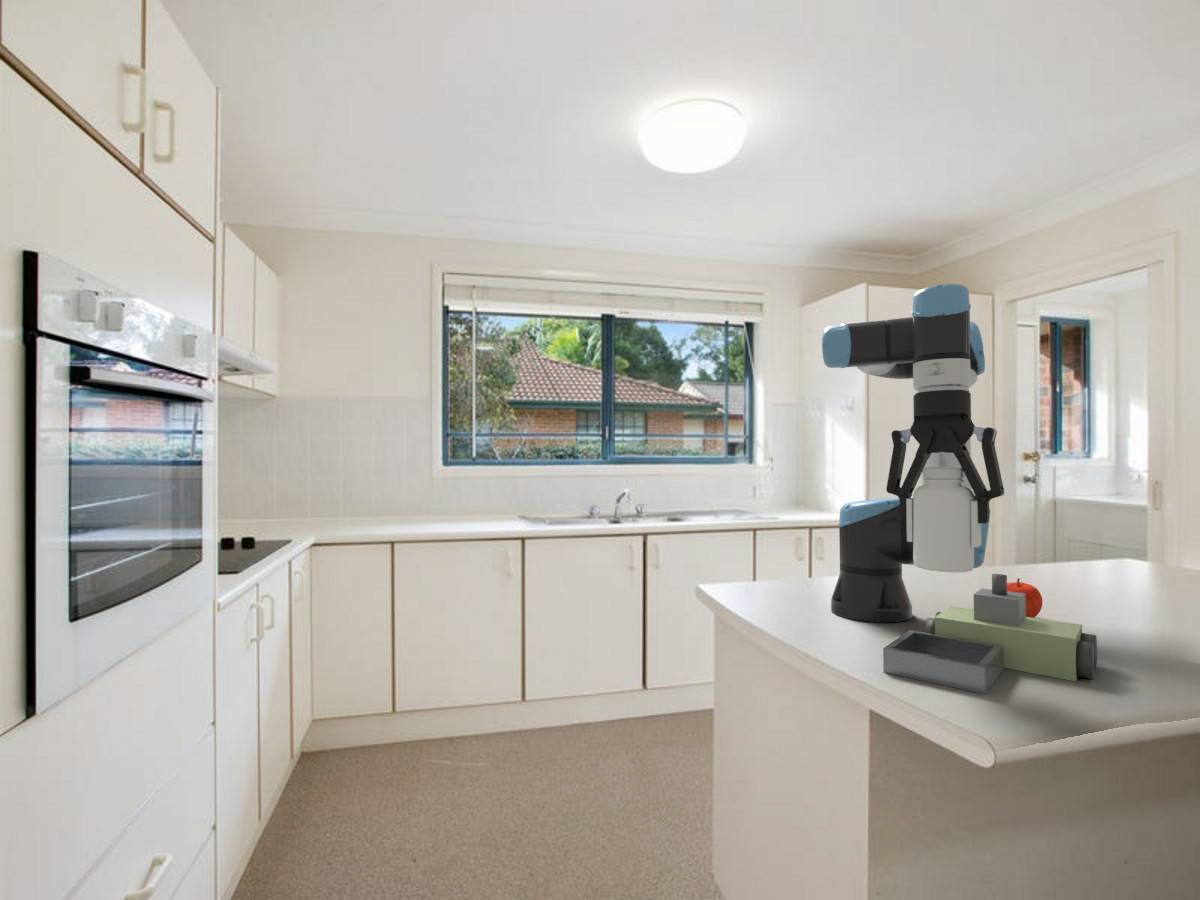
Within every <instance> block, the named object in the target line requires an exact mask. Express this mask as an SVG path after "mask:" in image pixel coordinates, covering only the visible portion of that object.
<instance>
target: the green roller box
mask: <svg viewBox="0 0 1200 900" xmlns="http://www.w3.org/2000/svg"><path fill="white" fill-rule="evenodd" d="M1007 583H1008V575H1006V574H1003V573H992V574H991V589H989V588H981V589H979V590H978V591H976V592H974V593H973V609H972V608H968V607H967V608H966V607H959V606H953V605H950V606H948V608H946V609H944V610H943V611H937V612H936V613H935V615H934V618H933V617H928V618H927V620H926V622H925V625H924V626H925V627H924V633H929V634H935V635H941V636H947V637H953V638H959V639H965V640H971V641H976V642H982V643H988V644H994V645H1000V646H1003V656H1004V668H1005V669H1009V670H1015V671H1019V672H1023V673H1024V672H1025V673H1030V674H1035V675H1040V676H1045V677H1051V678H1056V679H1060V680H1067V681H1072V682H1077V680H1078V677H1079V678H1084V679H1089V680H1094V674H1095V670H1097V665H1098V637H1097V635H1096V634H1092V633H1086V632H1085V633H1084V632H1083V624H1080V623H1073V622H1065V621H1059V620H1052V619H1044V618H1037V617H1034V618H1031V617H1026V606H1025V593H1017V592H1008V591H1007Z"/></svg>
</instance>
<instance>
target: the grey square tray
mask: <svg viewBox="0 0 1200 900" xmlns="http://www.w3.org/2000/svg"><path fill="white" fill-rule="evenodd" d="M882 654H883V655H882V657H883V658H882V662H883V664H882V665H883V667H882V669H883V671H882V672H883V673H887V674H891V675H895V676H899V677H905V678H910V679H914V680H918V681H923V682H927V683H931V684H935V685H941V686H946V687H950V688H955V689H960V690H965V691H969V692H973V693H978V694H982V695H986V694H987V692H988V691H989V690H990V689H991V687H992V685H994V683H995V682H996V680H997V679H998V678H999V676H1000V675H1001V674H1002V672H1003V671H1004V670H1005V669H1004V656H1003V646H1000V645H994V644H988V643H982V642H976V641H971V640H965V639H959V638H953V637H947V636H941V635H935V634H929V633H925V631H924V632H923V631H918V630H917V631H916V630H912V629H909V630H908V631H907V632H905V633H903V634H901V636H899V637H898V638H896V639H895V640H893V641H892V642H890V643H888V644H887V645H885V646H884V647H883V649H882Z"/></svg>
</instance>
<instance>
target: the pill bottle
mask: <svg viewBox="0 0 1200 900" xmlns="http://www.w3.org/2000/svg"><path fill="white" fill-rule="evenodd" d="M923 477H924V478H925V479H923ZM962 478H963V469H962V468H923V471H922V482H923V481H925V485H923V484H921V485H919V486H918V487H915V489H914V490H913V493H912V498H913V561H914V565H913V566H915V567H917V568H919V569H923V570H927V571H932V572H933V571H934V572H940V573H942V572H943V573H969V572H971V571H973V570H974V568H973V567H974V547H971V501H974V495H973V492H974V491H973V490H972V491H973V492H972V491H971V490H970V489H969V488H967V487H965V486H962V485H961V482H964V480H961V479H962Z"/></svg>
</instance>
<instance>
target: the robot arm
mask: <svg viewBox="0 0 1200 900" xmlns="http://www.w3.org/2000/svg"><path fill="white" fill-rule="evenodd" d="M971 307H972V306H971V302H970V292H969V289H968V287H967V286H965V285H962V284H958V283H943V284H937V285H936V284H935V285H931V286H926V287H924V288H920V289H918V290H917V291H916V292H914V295H913V297H912V310H911V317H909V316H908V317H900V318H893V319H892V318H891V319H886V320H885V319H883V320H875V321H874V320H872V321H862V322H854V323H851V322H850V323H840V324H835V325H829V326H827V327H825V328H824V331H823V333H822V337H821V338H822V339H821V351H822V359H823V363H824V365H825V366H826V367H827V368H830V369H831V368H833V369H835V368H839V369H845V368H846V369H847V368H855V367H857V369H858V370H859V371H861V372H862V373H864V374H866V375H868V376H874V377H878V378H879V377H880V378H884V379H885V378H886V379H894V380H895V379H896V380H907V379H908V380H909V379H912V380H913V381H912V382H913V389H914V390H915V391H917V392H916V393H914V395H913V422H912V425H911V426H910V428H908V429H902V430H896V429H895V430H893V431H892V432H891V433H890V434H891V439H892V444H893V447H892V453H891V460H890V466H889V472H888V477H887V483H886V488H885V489H886V492H887V494H891V495H894V496H897V497H890V498H875V499H866V500H865V499H864V500H858V501H851V502H847V503H845V504H843V505H842V506H841V508H840V510H839V521H838V522H839V523H838V527H837V528H839V531H838V532H839V576H838V578H837V582H836V583H835V584H836V585H835V587H834V591H833V593H832V596H831V600H830V611H831V612H832V613H834V614H836V615H838V616H841V617H843V618H847V619H851V620H858V621H862V622H863V621H865V622H872V623H873V622H875V623H899V622H906V621H909V620H911V619H912V618H913V605H912V602H911V599H910V597H909V594H908V591H907V587H906V586H905V583H904V579H903V568H902V567H903V565H910V566H911V565H913V566H915V565H914V561H913V494H914V491H915V489H916V487H917V483H918V482H919V479H920V478H921V475H922V474H923V468H962V469H963V478H962V479H961V480H964V482H961V485H962V486H965V487H967V488H969V489H970V490H971V491H972V492H973V495H974V501H971V547H974V567H973V569H977V568H980V567H981V566H982V565H983V564H984V562H985V557H986V550H987V541H988V535H989V534H988V533H989V525H990V519H991V518H990V517H991V509H990V501H991V500H993V499H995V498H999V497H1002V496H1004V495H1005V488H1004V484H1003V479H1002V473H1001V469H1000V463H999V461H998V460H999V459H998V455H997V451H996V450H997V449H996V447H995V443H996V438H997V433H998V432H997V429H995V428H994V427H981V426H976V425H975V424H974V422H973V420H972V399H971V397H972V395H971V392H970V388H971V387H973V386H974V385H975V384H976V382H977V381H978V376H980V375H982V374H984V373H985V370H986V366H985V365H986V362H985V361H986V360H985V359H986V358H985V353H984V342H983V338H982V333H981V330H980V328H979V326H978V325H977V323H976V322H974V321H971V315H970V314H971ZM973 434H974V435H975V436H976V440H977V441H978V442H980V443H981V449H982V450H981V451H982V456H983V459H984V466H985V470H986V475H987V479H988V485H989V490H988V489H987V487H986V485H985V483H984V481H983V478H982V477H981V475H980V473H979V471H978V469H977V467H976V465H975V463H974V462H973V460H972V452H971V450H972V449H971V448H972V447H971V445H972V444H971V443H972V442H971V437H973ZM911 437H913V438H914V439H915V441H916V442H917V443H918V444H919V445H918V447H917V450H916V452H915V456H914V458H913V461H912V463H911V464H910V467H909V469H908V472H907V474H906V475H905V479H904V481H903V483H902V485H901V482H902V476H903V470H904V466H905V465H904V464H905V463H904V462H905V459H906V453H907V444H908V443H910V439H911ZM923 479H925V478H924V477H923V476H922V485H925V481H923Z"/></svg>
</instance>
